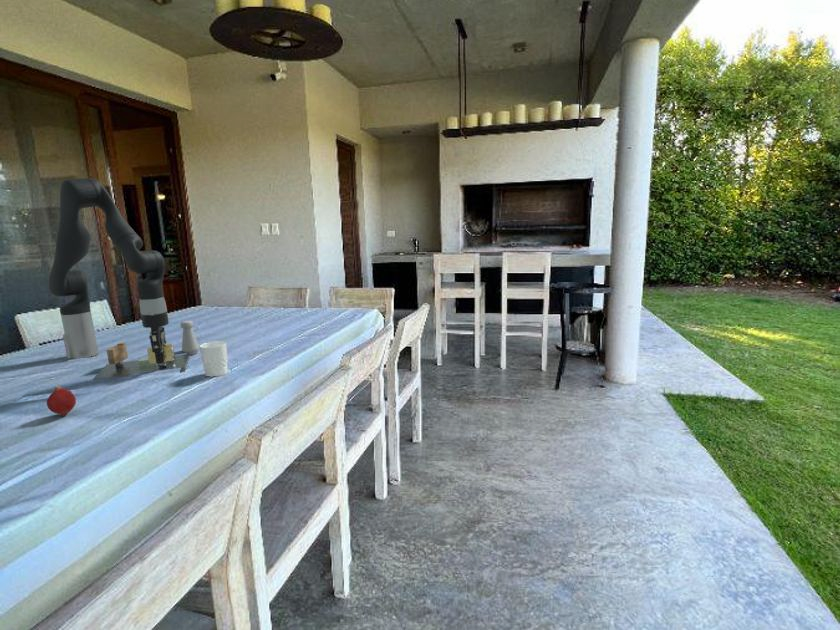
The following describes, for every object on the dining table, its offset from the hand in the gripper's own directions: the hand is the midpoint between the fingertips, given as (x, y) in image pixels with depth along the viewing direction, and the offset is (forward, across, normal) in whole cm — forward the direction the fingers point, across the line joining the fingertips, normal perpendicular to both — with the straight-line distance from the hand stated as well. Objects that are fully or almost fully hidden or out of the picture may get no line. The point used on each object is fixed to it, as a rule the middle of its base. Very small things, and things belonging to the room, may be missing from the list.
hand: (161, 360), depth 149 cm
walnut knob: (+2, -8, -14) cm, 16 cm away
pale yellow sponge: (+2, 0, 0) cm, 2 cm away
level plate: (+4, -5, -6) cm, 9 cm away
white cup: (+4, +12, +17) cm, 21 cm away
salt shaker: (+4, -19, +7) cm, 21 cm away
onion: (+4, +30, -19) cm, 36 cm away
